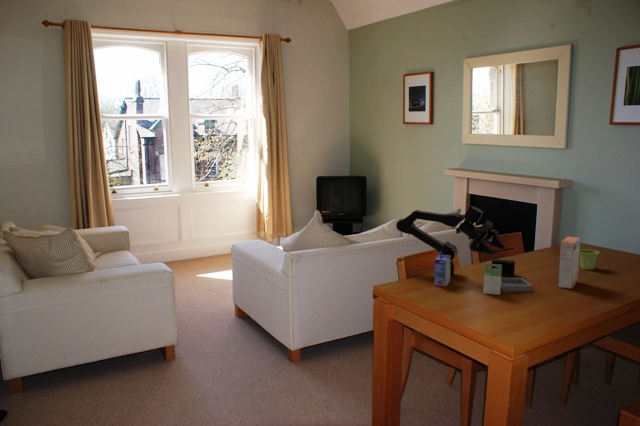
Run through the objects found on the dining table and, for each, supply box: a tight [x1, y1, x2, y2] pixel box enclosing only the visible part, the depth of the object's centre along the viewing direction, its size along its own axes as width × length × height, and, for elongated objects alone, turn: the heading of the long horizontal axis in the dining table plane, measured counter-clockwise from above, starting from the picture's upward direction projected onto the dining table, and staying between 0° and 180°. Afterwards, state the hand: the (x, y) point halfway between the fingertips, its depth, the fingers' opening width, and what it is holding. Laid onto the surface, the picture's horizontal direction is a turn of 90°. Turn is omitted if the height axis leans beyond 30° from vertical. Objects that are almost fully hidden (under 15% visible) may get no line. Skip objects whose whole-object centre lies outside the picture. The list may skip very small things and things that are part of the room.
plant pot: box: [579, 248, 600, 271], centre depth 272 cm, size 9×9×9 cm
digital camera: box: [491, 258, 516, 278], centre depth 261 cm, size 10×5×7 cm, turn 72°
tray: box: [500, 277, 533, 293], centre depth 242 cm, size 12×12×2 cm
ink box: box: [482, 263, 502, 296], centre depth 233 cm, size 7×4×13 cm, turn 71°
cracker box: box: [558, 235, 581, 290], centre depth 244 cm, size 14×6×21 cm, turn 145°
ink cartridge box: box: [434, 251, 451, 287], centre depth 247 cm, size 10×6×14 cm, turn 155°
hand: (499, 250), depth 246 cm, fingers open, 9 cm apart
